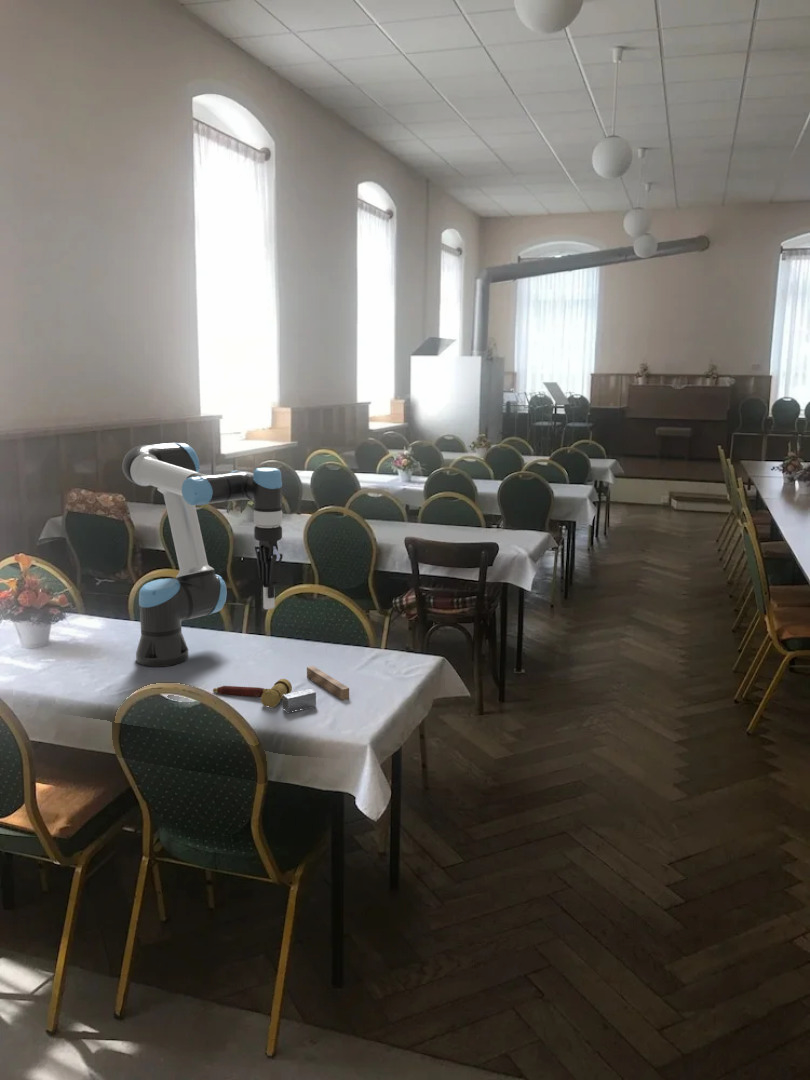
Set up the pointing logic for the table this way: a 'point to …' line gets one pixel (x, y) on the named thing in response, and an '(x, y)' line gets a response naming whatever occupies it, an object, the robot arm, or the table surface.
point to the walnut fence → (328, 683)
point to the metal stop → (299, 700)
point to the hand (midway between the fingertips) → (269, 608)
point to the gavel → (259, 692)
